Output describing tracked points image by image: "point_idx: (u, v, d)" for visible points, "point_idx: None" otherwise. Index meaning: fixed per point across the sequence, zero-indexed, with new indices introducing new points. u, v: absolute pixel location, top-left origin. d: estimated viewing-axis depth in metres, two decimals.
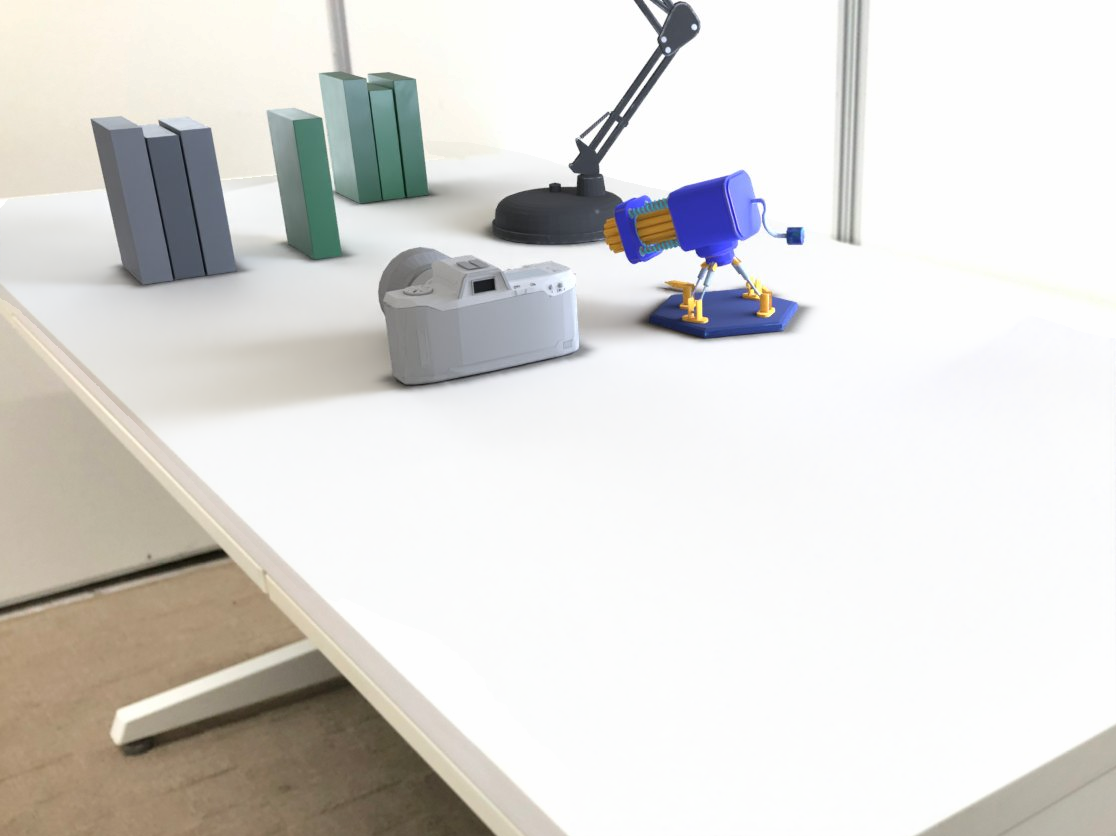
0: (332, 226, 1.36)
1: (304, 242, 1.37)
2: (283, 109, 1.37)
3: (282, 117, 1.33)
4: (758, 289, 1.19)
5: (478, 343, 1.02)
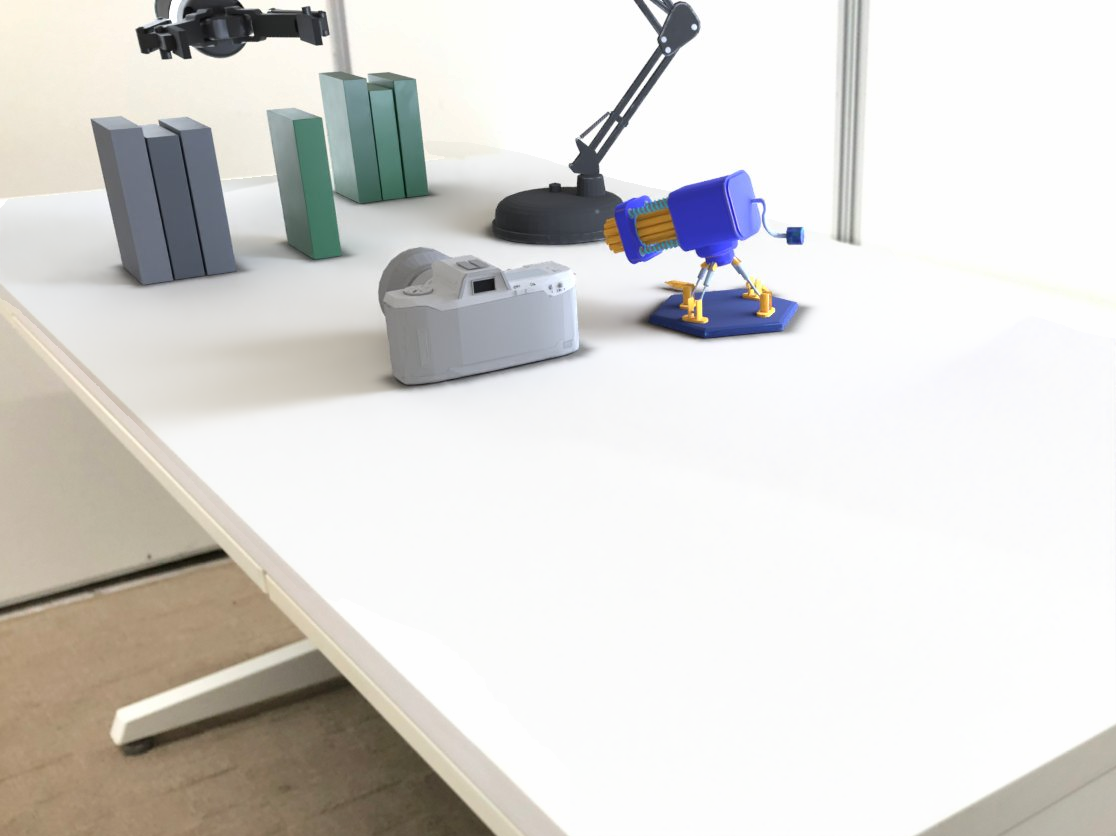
0: (332, 226, 1.36)
1: (304, 242, 1.37)
2: (283, 109, 1.37)
3: (282, 117, 1.33)
4: (758, 289, 1.19)
5: (478, 343, 1.02)
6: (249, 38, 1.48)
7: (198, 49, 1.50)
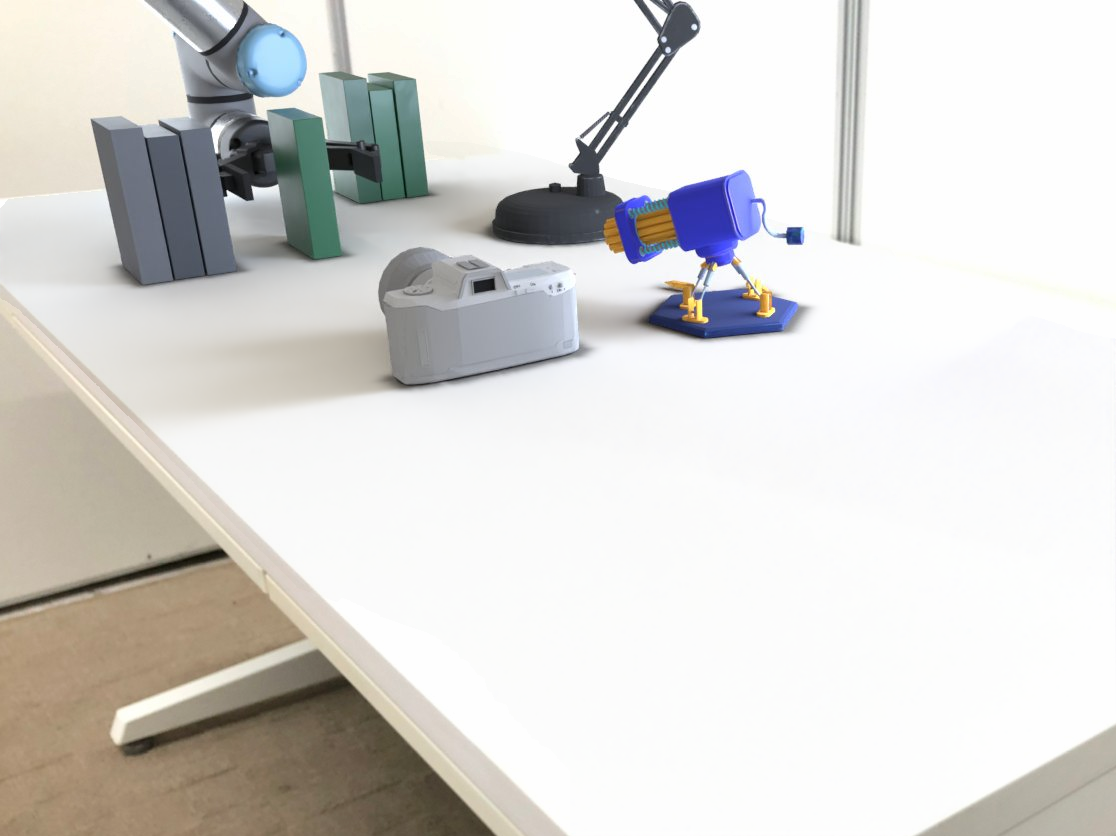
0: (332, 226, 1.36)
1: (304, 242, 1.37)
2: (283, 109, 1.37)
3: (282, 117, 1.33)
4: (758, 289, 1.19)
5: (478, 343, 1.02)
6: None
7: None
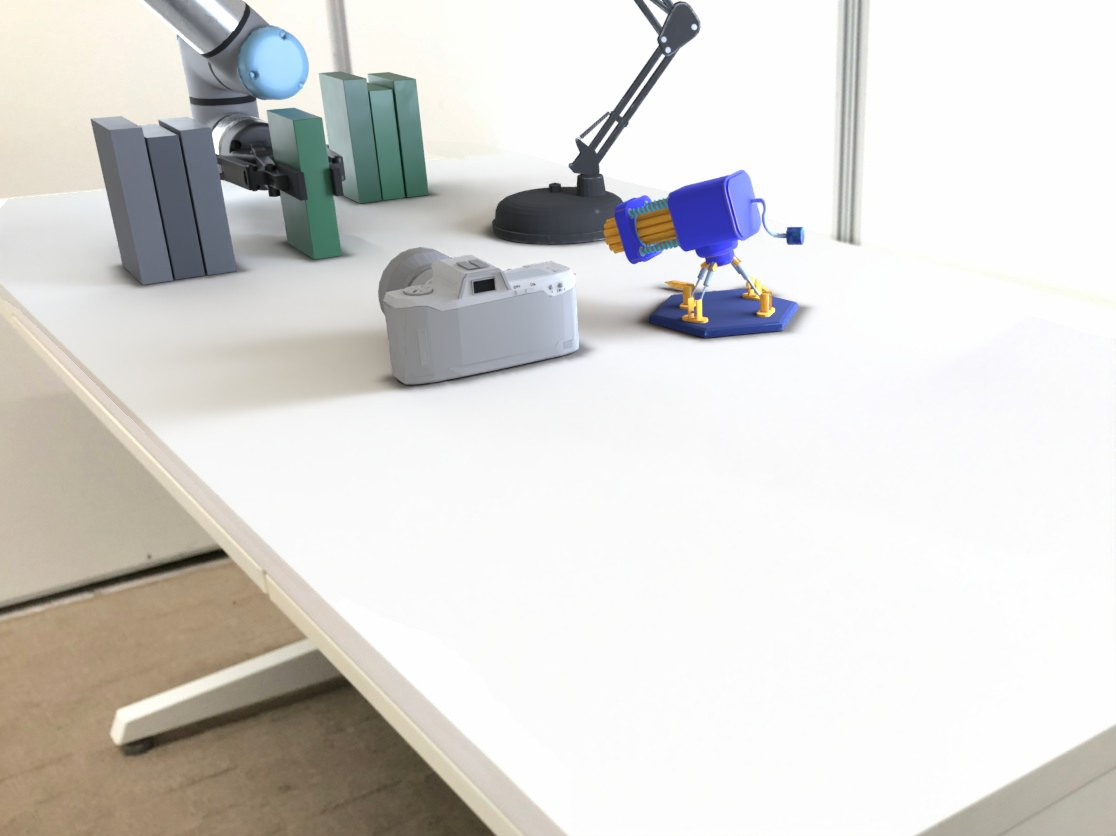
0: (332, 226, 1.36)
1: (304, 242, 1.37)
2: (283, 109, 1.37)
3: (282, 117, 1.33)
4: (758, 289, 1.19)
5: (478, 343, 1.02)
6: None
7: None
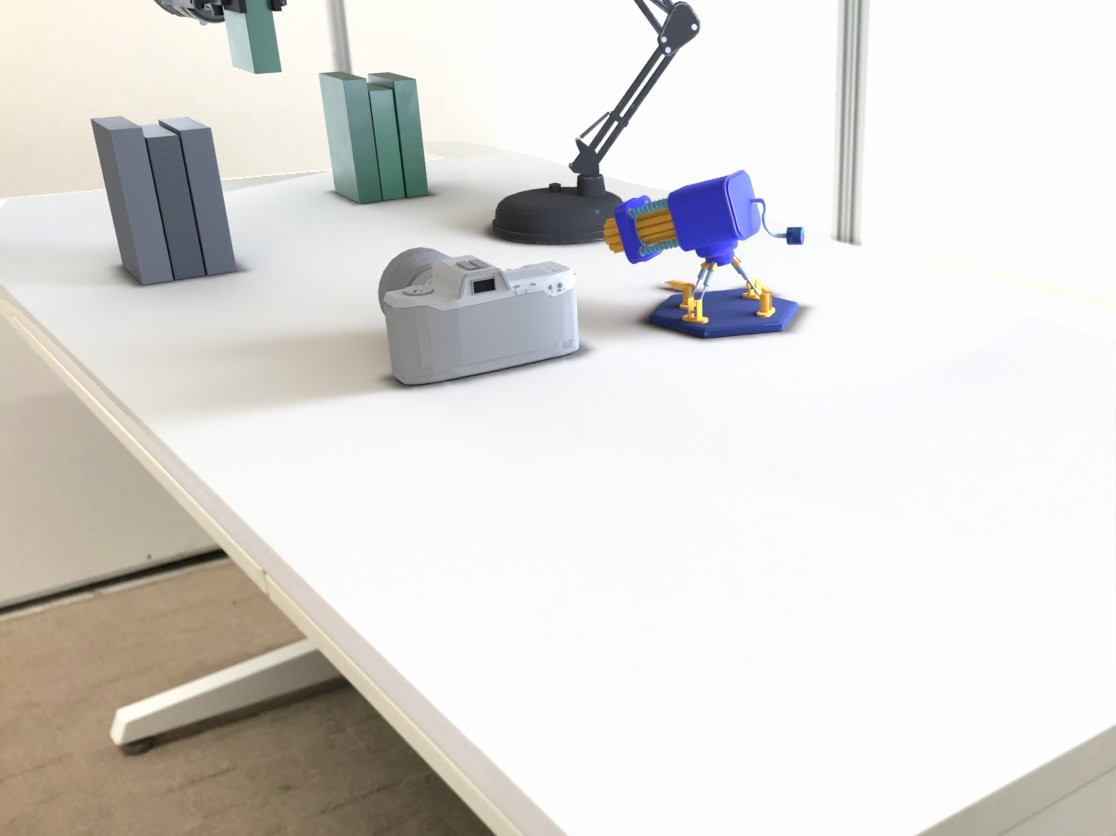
0: (271, 42, 1.44)
1: (246, 59, 1.46)
2: None
3: None
4: (758, 289, 1.19)
5: (478, 343, 1.02)
6: None
7: (192, 13, 1.55)
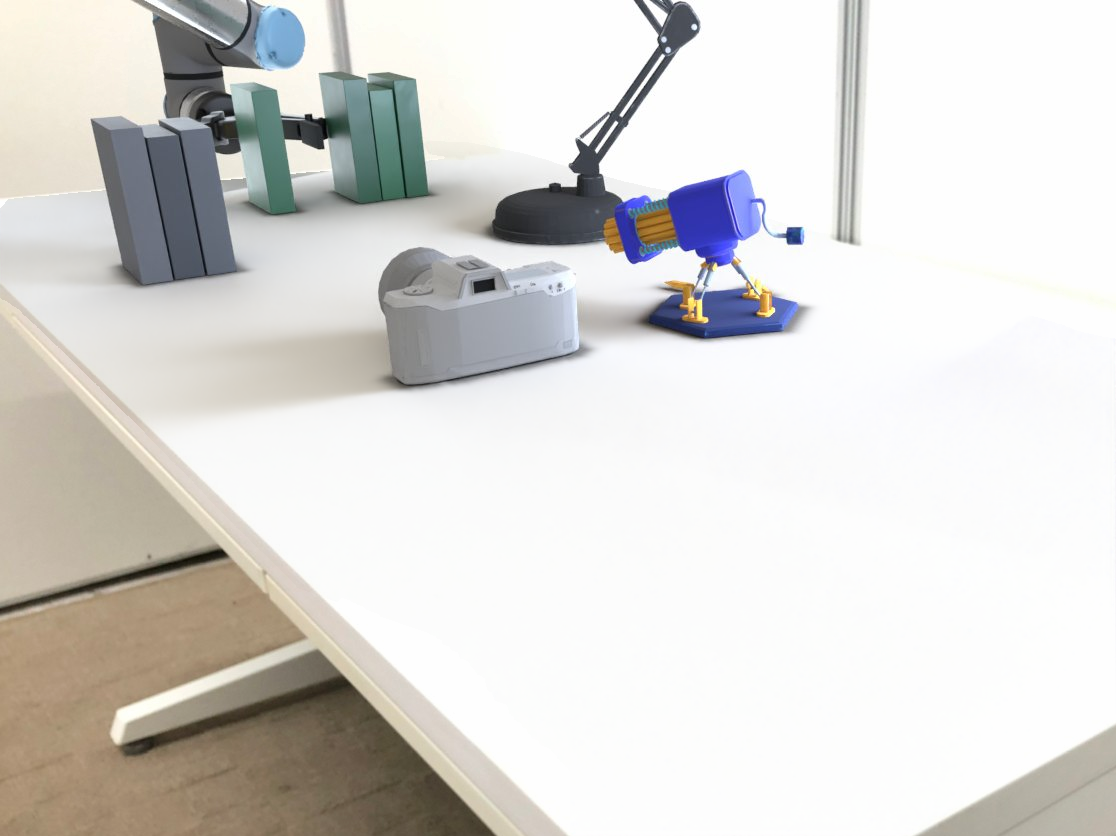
0: (286, 185, 1.56)
1: (263, 200, 1.57)
2: (244, 83, 1.57)
3: (242, 89, 1.52)
4: (758, 289, 1.19)
5: (478, 343, 1.02)
6: None
7: None
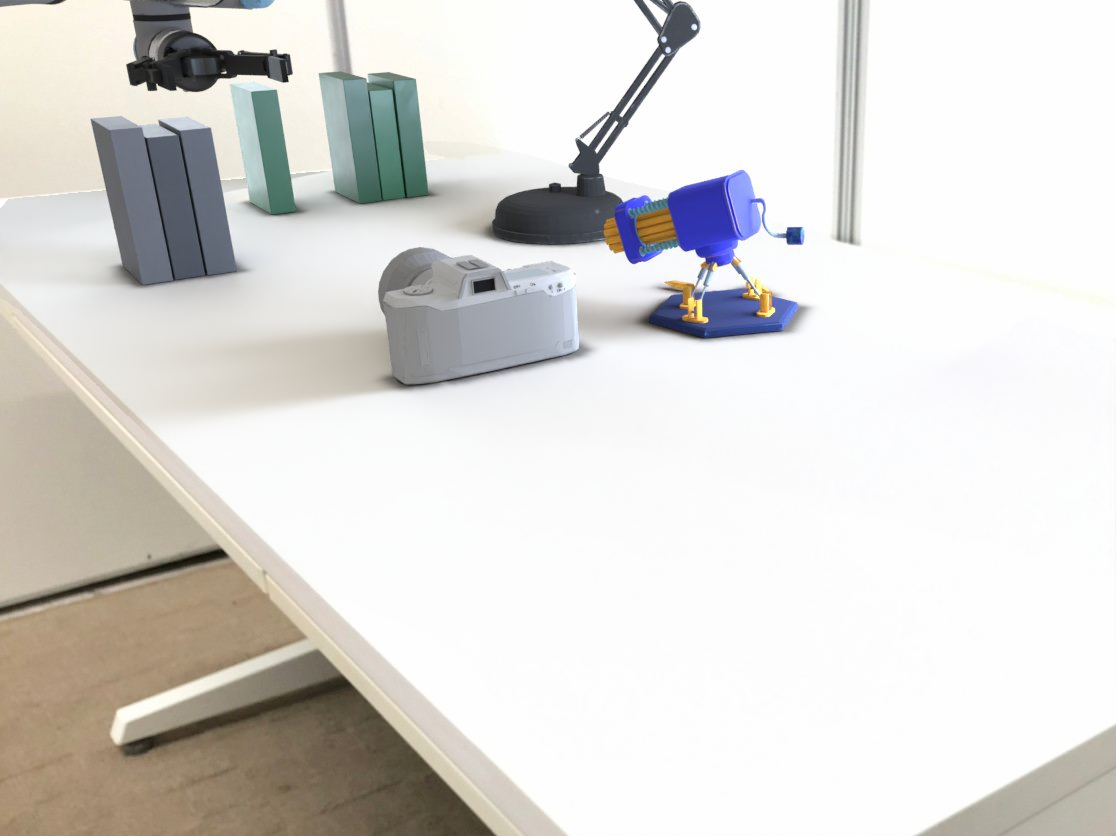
0: (286, 185, 1.56)
1: (263, 200, 1.57)
2: (244, 83, 1.57)
3: (242, 89, 1.53)
4: (758, 289, 1.19)
5: (478, 343, 1.02)
6: (222, 75, 1.72)
7: (176, 83, 1.74)
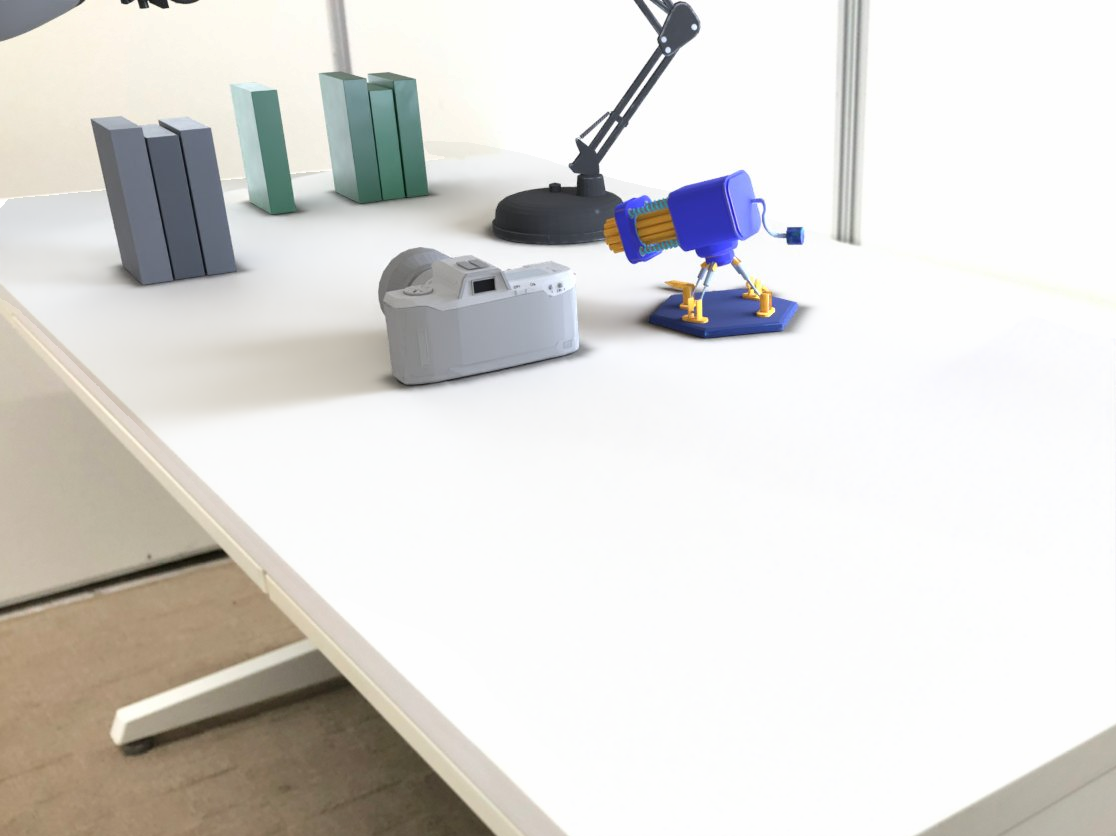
0: (286, 185, 1.56)
1: (263, 200, 1.57)
2: (244, 83, 1.57)
3: (242, 89, 1.52)
4: (758, 289, 1.19)
5: (478, 343, 1.02)
6: None
7: None
